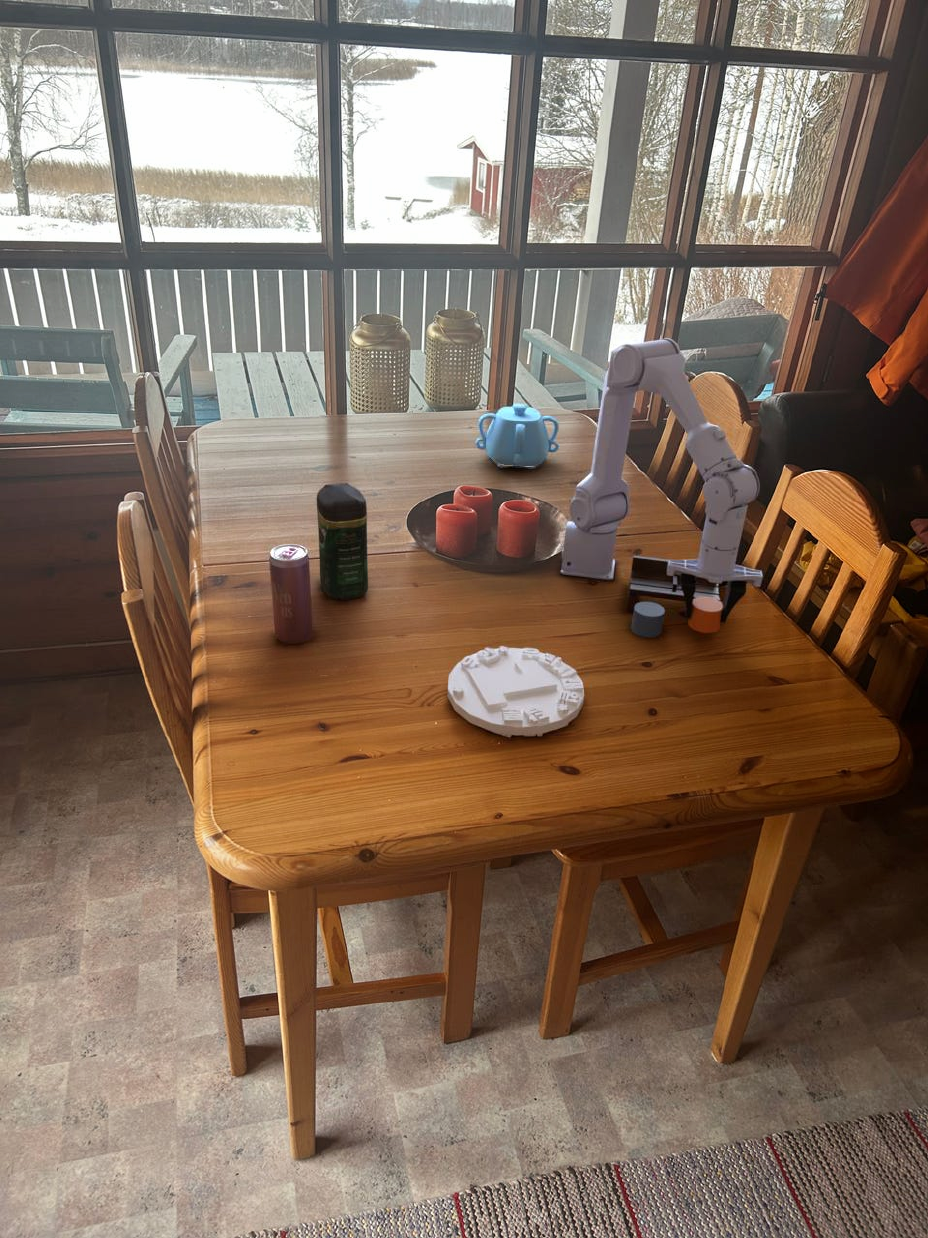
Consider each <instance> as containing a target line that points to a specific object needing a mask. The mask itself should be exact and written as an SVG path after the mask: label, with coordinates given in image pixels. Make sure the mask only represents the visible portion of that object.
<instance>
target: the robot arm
mask: <svg viewBox="0 0 928 1238" xmlns="http://www.w3.org/2000/svg"><path fill="white" fill-rule="evenodd" d="M685 369H686V358H685V357H684V354H682V352H681V348H680V347H679V345H678V343H677V342H676V341H675V340H674V339H671V338H670V337H669V338H668V337H664V338H663V337H662V338H660V339H656V340H650V341H643V342H636V343H624V344H621V345H620V346H618V347H617V348H614V349H613V350H611V352H610V357H609V363H608V369H607V370H606V372H605V375H604V381H603V388H602V394H601V399H600V400H601V401H600V408H599V414H598V421H597V426H596V427H597V428H596V435H595V441H594V447H593V454H592V461H591V468H590V472H589V473H588V475H587V476H586V477H584V478H583V480H581V481H580V482H579V483H578V484H577V485H576V487H575V493H574V495H573V497H572V498H571V501H570V504H569V516H570V517H571V520H572V521H570V520H569V521H567V523H566V527H565V532H564V533H565V534H564V542H563V548H562V549H561V558H560V559H561V570H560V574H561V575H565V576H574V577H582V578H588V579H596V580H603V581H604V580H606V581H612V580H614V572H615V564H616V560H615V559H614V557H615V549H616V541H617V534H618V528H619V527H621V525H622V520H624V519H626V518H627V517H628V515H629V513H630V510H631V502H630V495H629V493H630V485H629V483H628V482H627V481H626V480H625V479H624V478H623V471H624V467H625V466H624V465H625V459H626V453H627V448H628V442H629V435H630V431H631V424H632V417H633V412H634V406H635V401H636V394H637V392H638V391H643V392H647V393H652V394H656V395H659V396H661V397H662V399H663V400H664V401H665V403H666V405H667V406H668V407H669V409H670V411H671V412H672V413H673V415H674V417H675V418H676V420H677V421H678V422H679V424H680V425H681V427H682V429H683V430H684V431H685V433H686V435H687V436H686V439H685V440H686V441H685V445H684V446H685V449H686V450H687V452H688V454H689V456H690V457H691V459H692V461H693V463H694V465H695V467H696V468H697V470H698V472H699V474H700V476H701V477H702V479H703V481H704V483H705V484H703V485H702V495H703V498H704V501H705V508H704V513H705V521H704V526H703V529H702V530H703V532H702V535H701V542H700V547H699V551H698V557H697V559H667V560H668V566H667V575H668V576H674V574H676V575H680V584H681V588H682V591H683V594H684V598H685V618H686V619H688V620H689V619H690V617H691V611H692V602H693V598H694V593H695V590H696V577H700V578H705V579H708V581H709V582H711V583H719V584H720V583H722V581H728V583H727V586H726V590H725V595H724V598H723V602H722V604H723V606H724V608H723V612H722V617H721V622H720V624H726V621H727V619H728V617H729V615H730V613H731V612H732V610H733V608H734V607H735V606H736V605H737V603H738V602H739V601H740V600H741V599H742V598H744V596H745V595H746V593H747V584H748V585H752V586H753V587H758V588H761V585H762V582H763V577H764V576H763V571H762V570H758V569H753V568H749V567H746V566H743V565H739V564H736V562H737V557H738V553H739V549H740V548H739V547H740V544H741V540H742V539H741V538H742V535H743V534H742V533H743V530H744V526H745V522H746V516H747V511H748V507H749V503H752V502H754V501H755V500H756V499H757V497H758V496H759V494H760V491H761V490H760V489H761V488H760V487H761V483H760V479H759V476H758V474H757V471H756V470H755V469H754V468H753V467H752V466H750V465H747V464H745V463H744V461H743V460H741V459H738V457H737V455H736V453H735V452H734V450H733V449H732V446H731V444H730V443H729V442H728V440H727V435H726V432H725V431H724V429H722V428H721V427H720V426H719V425H716V424H713V423H710V422H708V420H707V418H706V416H705V413H704V412H703V409H702V407H701V405H700V403H699V401H698V399H697V397H696V395H695V392H694V390H693V388H692V386H691V384H690V382H689V380H688V377H687V375H686V373H685Z"/></svg>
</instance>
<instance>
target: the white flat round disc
mask: <svg viewBox="0 0 928 1238" xmlns="http://www.w3.org/2000/svg"><path fill="white" fill-rule="evenodd" d="M447 680H448V683H447V699H448V700H449V702H450V705H451V706H452V708H453V710H454V711H455V712H456V713H457V714H458V715H460V716H461V717H462V718H464V719H465V720H466V721H468V723H470V724H472V725H475V726H477V727H480V728H482V729H484V730H487V731H489V732H492V733H493V734H496V735H501V736H503V737H506V738H508V739H509V738H511V737H512V736H523V737H536V736H537V737H543V734H546V733H549V732H552V731H556V730H559V729H561V728H564V727H567V726H569V723H570V722H571V721H573V720H574V719H576V718H577V717H578V715H579V713H580V711H581V709H582V707H583V705H584V701H585V690H584V683H583V680H582V679H581V678H580V676H579V675H578V671H577V670H576V669H574V668H573V667H571V666H570V665H569V664H566V663H565V661H564V662H563V661H562V657H559V656H557V657H556V655H553V654H551V653H548V652H546V653H544V652H542V651H540V650H539V649H537V648H533V647H523V648H518V647H507V646H504V645H500V646H499V647H498V648H493V647H491V648H490V647H488V646H487V647H484V649H481V650H479V651H477V652H476V653H472V654H471V655H466V656H465V657H463V659H461V660H460V661H458V662H457V663H456V665H455V666H454V667H453V668H452V670H451V671H450V673H449V674H448V679H447Z"/></svg>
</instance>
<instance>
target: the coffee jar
mask: <svg viewBox="0 0 928 1238" xmlns="http://www.w3.org/2000/svg"><path fill="white" fill-rule="evenodd" d="M316 512H317V513H316V514H317V524H318V525H317V528H318V530H317V531H318V552H319V553H318V555H319V557H318V558H319V581H320V585H321V587H322V590H323V592H324V593H325V595H326V596H328V597H329V598H330V599H336V600H345V601H346V600H347V601H348V600H353V599H356V598H358V597H359V598H360V597H361V596H364V595H366V594H367V593H368V590H369V571H368V567H369V566H368V564H369V563H368V509H367V500H366V497H365V495H363V493H362V492H361V491H360V489H358V488H356V487H355V486H353V485H350V484H349V483H348V482H339V483H328V484H325V485H323V487H321V488H320V489H319V490H318V492H317V494H316Z"/></svg>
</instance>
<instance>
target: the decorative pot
mask: <svg viewBox="0 0 928 1238" xmlns="http://www.w3.org/2000/svg"><path fill="white" fill-rule="evenodd" d="M489 419H492V421H491V423H490V425H489V427H488V429H487V432H486V433H485V429H484V421H486V420H489ZM547 421H549V422H552V423H553V431H552V432H551V435H550V437H549V433H548V429H547V426H546V422H547ZM477 425H478V427H477V428H478V431H479V434H480V437H479V438H477V439H476V440H475V447H476V448H477V450H480V451H481V450H485V452H486V454H487V456H488V457H489V459H490V458H491V459H492V460H493V461H495V462H497V463H500V464H504V465H513V466H534V467H524V468H525V469H529V470H533V469H536V467H537V466H536V465H538V466H539V464H540V465H541V464H542V463H543V462H544V461H545V459H546V458H547V457H548V455H549V453H551V454H552V453H553V454H554V453H556V452H558V451H559V449H560V448H559V447H560V445H559V442H558V441H555V439H556V436H557V434H558V432H559V430H560V429H559V428H560V423H559V421H558V420H557V419H556V418H555V417H553V416H552V415H543V416H542V414H541V412H540V410H537V409H536V408H534V407H528V406H527V404H524V403H514V404H512V406H503V407H501V408H499V409H498V411H497V412H496V414H495V413H492V412H491V413H490V412H487V413H485V414H483V415H481V416H480V418H479V419H478V424H477ZM480 442H482V444H480ZM552 445H554V447H552ZM491 459H490V460H491ZM492 460H491V461H492ZM493 461H492V462H493ZM496 466H497V467H499V468H502V469H504V468H508V467H509V466H502V465H498V464H496Z"/></svg>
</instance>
